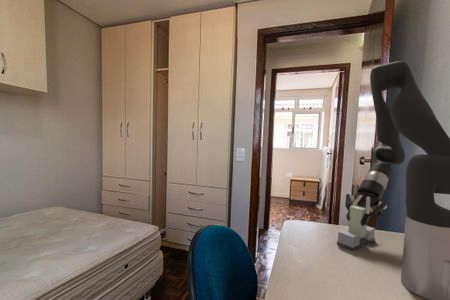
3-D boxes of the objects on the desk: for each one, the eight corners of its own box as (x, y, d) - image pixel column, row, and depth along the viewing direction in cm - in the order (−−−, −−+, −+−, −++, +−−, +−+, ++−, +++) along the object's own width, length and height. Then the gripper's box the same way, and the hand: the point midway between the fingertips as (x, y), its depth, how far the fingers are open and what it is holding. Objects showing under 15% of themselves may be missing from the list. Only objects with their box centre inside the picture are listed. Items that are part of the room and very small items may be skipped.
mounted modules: (374, 237, 81) (375, 228, 81) (352, 247, 72) (353, 237, 72) (359, 232, 85) (360, 223, 85) (337, 241, 76) (338, 231, 76)
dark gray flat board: (374, 240, 81) (375, 238, 81) (353, 251, 72) (353, 248, 72) (358, 235, 85) (359, 232, 85) (336, 244, 76) (336, 241, 76)
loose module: (365, 236, 78) (367, 208, 78) (360, 238, 76) (362, 209, 75) (353, 231, 81) (355, 205, 81) (348, 233, 79) (350, 206, 79)
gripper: (350, 175, 88) (332, 210, 81) (393, 182, 76) (375, 222, 70) (356, 187, 91) (338, 221, 85) (397, 196, 79) (380, 235, 73)
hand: (355, 222), depth 77 cm, fingers closed on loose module, 4 cm apart
